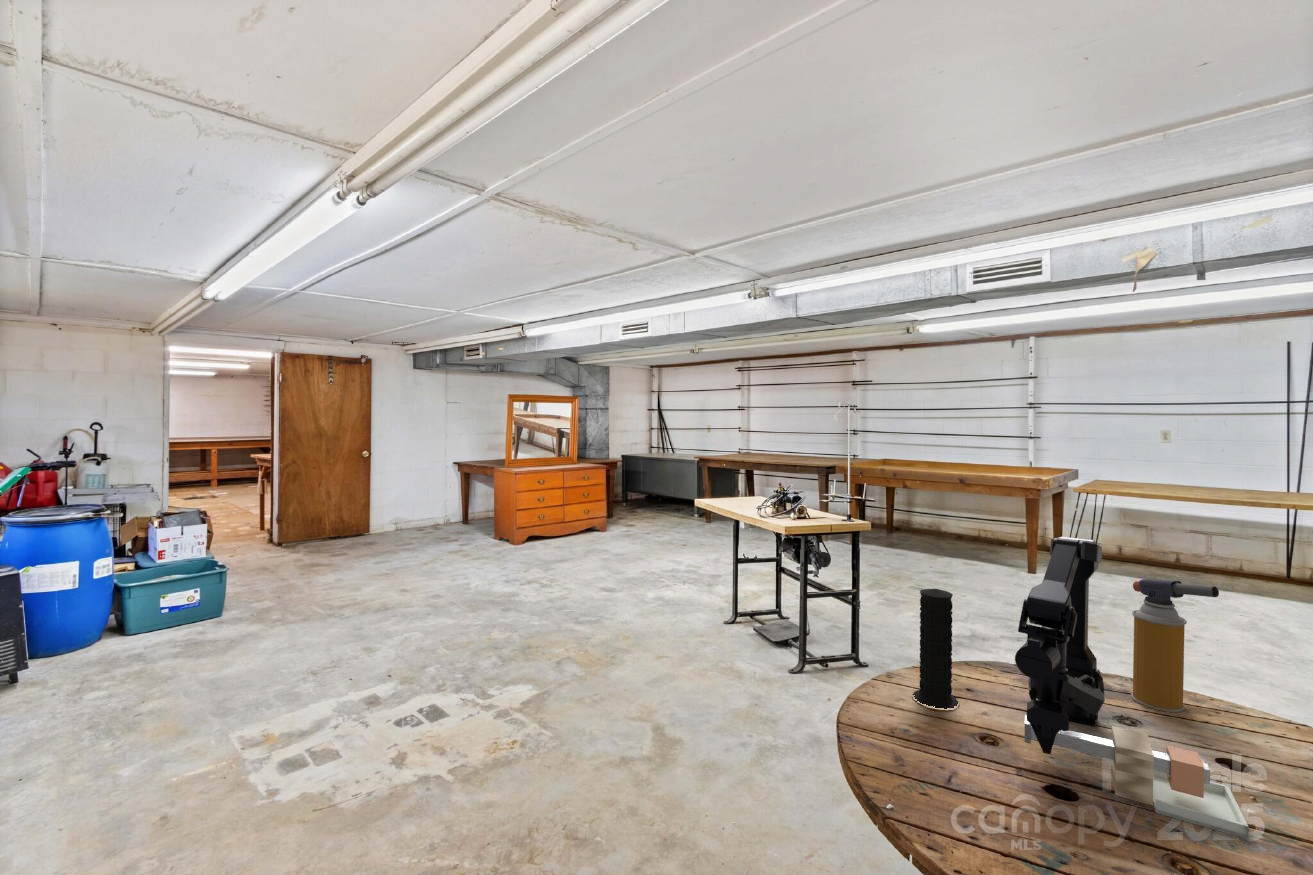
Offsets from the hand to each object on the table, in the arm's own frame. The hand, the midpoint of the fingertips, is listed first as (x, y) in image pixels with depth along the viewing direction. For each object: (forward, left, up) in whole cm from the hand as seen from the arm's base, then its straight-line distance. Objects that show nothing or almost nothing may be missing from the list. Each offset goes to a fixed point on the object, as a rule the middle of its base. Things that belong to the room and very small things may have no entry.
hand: (1046, 742), depth 109 cm
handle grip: (-22, +16, -4) cm, 27 cm away
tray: (+20, 0, -4) cm, 21 cm away
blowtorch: (+23, +41, -4) cm, 47 cm away
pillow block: (+12, 0, -4) cm, 13 cm away
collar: (+19, 0, -1) cm, 20 cm away
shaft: (+9, 0, 0) cm, 10 cm away
